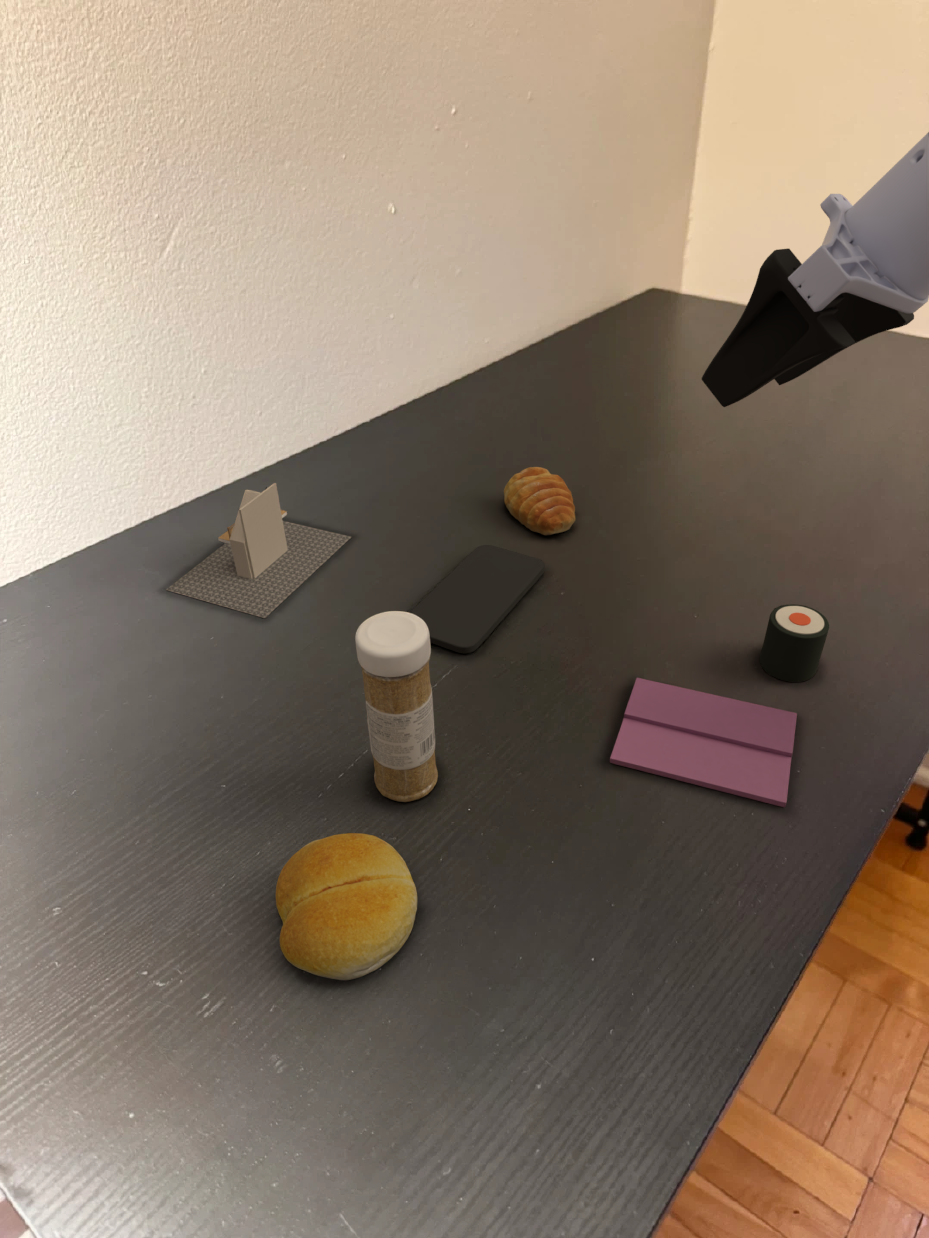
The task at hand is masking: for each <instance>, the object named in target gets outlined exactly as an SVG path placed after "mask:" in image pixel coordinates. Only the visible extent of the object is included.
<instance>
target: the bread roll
mask: <svg viewBox="0 0 929 1238" xmlns="http://www.w3.org/2000/svg"><path fill="white" fill-rule="evenodd" d="M277 878H278V879H277V882H276V885H275V886H276V887H275V906H276V909H277V913H278V915H279V916H280V919H281V921H282V926H281V930H280V933H279V946H280V950H281V952H282V954H283V957H284V958H285V959H286V961H288V962H289V963H290V964H291V965H292V966H294V967H296V968H297V969H300V970H302V971H305V972H307V973H310V974H312V975H315V976H318V977H323V978H327V979H330V980H331V979H332V980H339V981H350V980H354V979H358V978H362V977H364V976H366V975H368V974H370V973H373V972H374V971H376V970H378V969H379V968H381V967H382V966H384V965H385V964H386V963H388V961H390V960H391V959H392V958H393V957H394V956H395V955H396V954H397V953H398V952H400V950H401V949H402V948H403V946H404V945H405V943H406V941H407V940H408V939H409V937H410V934H411V933H412V930H413V928H414V924H415V921H416V914H417V911H418V893H417V887H416V884H415V882H414V880H413V877H412V874H411V871H410V869H409V867H408V865H407V862H406V861H405V860H404V858H403V857H402V855H401V854H400V853H399V852H398V851H397V850H396V849H395V848H394V847H393V846H392V845H391V843H388V842H386V841H385V840H384V839H381V838H379V837H378V836H377V835H374V834H373V835H372V834H368V833H361V832H360V833H358V832H356V833H355V832H348V833H338V834H333V835H330V836H327V837H323V838H320V839H315V840H312V841H310V842H308V843H306V844H305V845H304V846H303V847H302V848H300V849H299V850H297V851H296V852H295V853H294V854H293V855H292V856H291V857H290V858H289V859H288V860H287V862H285V864H284V865H283V867H282V869H281V870H280V872H279V876H278V877H277Z"/></svg>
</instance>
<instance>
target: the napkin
mask: <svg viewBox="0 0 929 1238" xmlns="http://www.w3.org/2000/svg"><path fill="white" fill-rule="evenodd" d="M630 693H631V694H630V696H629V699H628V701H627V705H626V708H625V711H624V714H623V718H622V722H621V725H620V728H619V731H618V733H617V736H616V739H615V742H614V745H613V747H612V750H611V751H612V752H611V754H610V757H609V764H613V765H617V766H621V767H625V768H629V769H633V770H637V771H640V772H645V773H649V774H652V775H656V776H659V777H660V776H661V777H664V778H667V779H671V780H676V781H679V782H684V783H687V784H691V785H695V786H699V787H702V788H706V789H711V790H714V791H719V792H723V793H727V794H730V795H734V796H738V797H742V798H745V799H749V800H753V801H756V802H757V801H758V802H761V803H766V804H769V805H772V806H777V807H781V808H786V807H787V801H788V792H789V783H790V775H791V767H792V766H791V764H792V757H793V753H794V745H795V735H796V728H797V727H796V725H797V716H798V713H797V712H793V711H789V710H784V709H779V708H775V707H771V706H768V705H767V706H766V705H762V704H757V703H753V702H748V701H744V700H739V699H735V698H730V697H727V696H721V695H717V694H712V693H709V692H703V691H699V690H694V689H691V688H685V687H681V686H677V685H673V684H667V683H663V682H659V681H654V680H650V679H646V678H640V677H636V678H635V681H634V683H633V687H632V690H631V692H630Z"/></svg>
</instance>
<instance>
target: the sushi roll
mask: <svg viewBox="0 0 929 1238" xmlns="http://www.w3.org/2000/svg"><path fill="white" fill-rule="evenodd" d="M829 630H830V623H829V620H828V619H827V617H826V616H825V615H824V614H823V613H821V612H820V611H818V610H817V609H815V608H813V607H810V606H806V605H802V604H794V603H793V604H792V603H788V604H787V603H786V604H781V605H779V606H777V607H775V608H773V610H772V611H771V612H770V614H769V618H768V621H767V627H766V630H765V634H764V639H763V643H762V647H761V651H760V655H759V663H760V666H761V668H762V669H763V671H765V672H766V673H767V674H768V675H769V676H771V677H772V678H773V677H774V678H775V679H777V680H781V681H784V682H790V683H800V682H806V681H808V680H810V679H812V678H813V677H814V676H815V675H816V673H817V670H818V667H819V664H820V660H821V657H822V654H823V650H824V647H825V644H826V640H827V637H828V633H829Z"/></svg>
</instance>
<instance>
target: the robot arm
mask: <svg viewBox="0 0 929 1238" xmlns="http://www.w3.org/2000/svg"><path fill="white" fill-rule="evenodd" d="M819 206H820V209H821V210H822V211H823V213H824V214H825V215H826V216H827V218H828V219H829V226H828V228H827V231H826V232H825V236H824V239H823V241H822V243H821V245H820V246H819V247H818V248H817V249H816V250H814V252H812V254H811V255H810V256H809V257H808V258H807V259H805V260H804V261H803V263H802V262H801V261H800V260H799V259H798V257H797V256H796V255H795V253H794V252H793V251H792V250H791V249H790V247H789V248H780V249H775V250H773V251H772V252H771V253H770V254H769V255H768V256H767V257H766V258H765V260H764V261H763V263H762V265H761V266H760V268H759V271H758V275H757V278H756V281H755V284H754V287H753V289H752V292H751V294H750V298H749V300H748V302H747V304H746V306H745V308H744V310H743V312H742V314H741V316H740V318H739V320H738V321H737V322H736V325H735V326H734V328H733V329H732V331H731V332H730V334H729V335H728V336H727V338H726V339H725V341H724V343H722V345H721V346H720V348H719V350H717V352H716V354H715V355H714V356H713V358H712V360H711V361H710V363H709V364H708V366H707V367H706V369H705V371H704V372H703V374H702V377H701V381H702V382H703V383H704V385H705V387H707V389H708V390H709V391H710V393H711V394H712V395H713V397H714V398H715V399H716V400H717V402H718V403H719V404H720V406H721V407H723V408H727V407H729V406H731V405H733V404H735V403H738V402H740V401H741V400H744V399H746V398H747V397H749V396H751V395H752V394H754V393H756V392H757V391H758V390H760V389H761V388H763V387H764V386H766V385H767V384H769V383H771V382H772V381H773V380H774V381H775V382H776V383H777V384H778V386H783V385H784V384H786V383H788V382H791V381H793V380H795V379H797V378H799V377H800V376H802V375H804V374H806V373H807V372H809V371H811V370H812V369H814V368H816V367H817V366H819V365H821V364H823V363H824V362H825V361H827V360H829V359H831V358H832V357H834V356H835V355H837V354H839V353H841V352H842V351H844V350H846V349H847V348H849V347H851V346H853V345H855V344H857V343H860V342H862V341H864V340H866V339H867V338H870V337H873V336H875V335H878V334H880V333H885V332H887V331H890V330H894V329H898V328H902V327H904V326H907V325H909V324H910V323H911V322H913V320H914V319H915V313H916V312H917V311H918V310H919V309H920V308H922V307H923V306H924V305H925V304H927V303H928V302H929V131H928V132H927V133H926V134H925V135H924V136H923V137H922V138H921V139H919V141H917V142H916V144H915V145H914V146H912V147H911V148H910V149H909V150H908V152H907V153H905V154H904V156H902V158H900V159H899V160H898V161H897V162H896V163H895V164H894V165H893V166H892V167H891V168H890V169H889V170H888V171H887V172H886V173H885V174H884V175H882V177H881V178H880V179H879V180H877V182H875V183H874V185H873V186H871V188H869V189H868V191H866V192H865V193H864V194H863V195H862V196H861V197H860V198H859V199H858V200H857V201H856V202H855V203H854V204H852V203H851V201H849V200H848V198H846V197H845V196H844V195H843V194H841V193H830V194H829V195H828V196H827V197H826V198H825V199H824V200H822V202H821V203H820V204H819Z"/></svg>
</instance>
